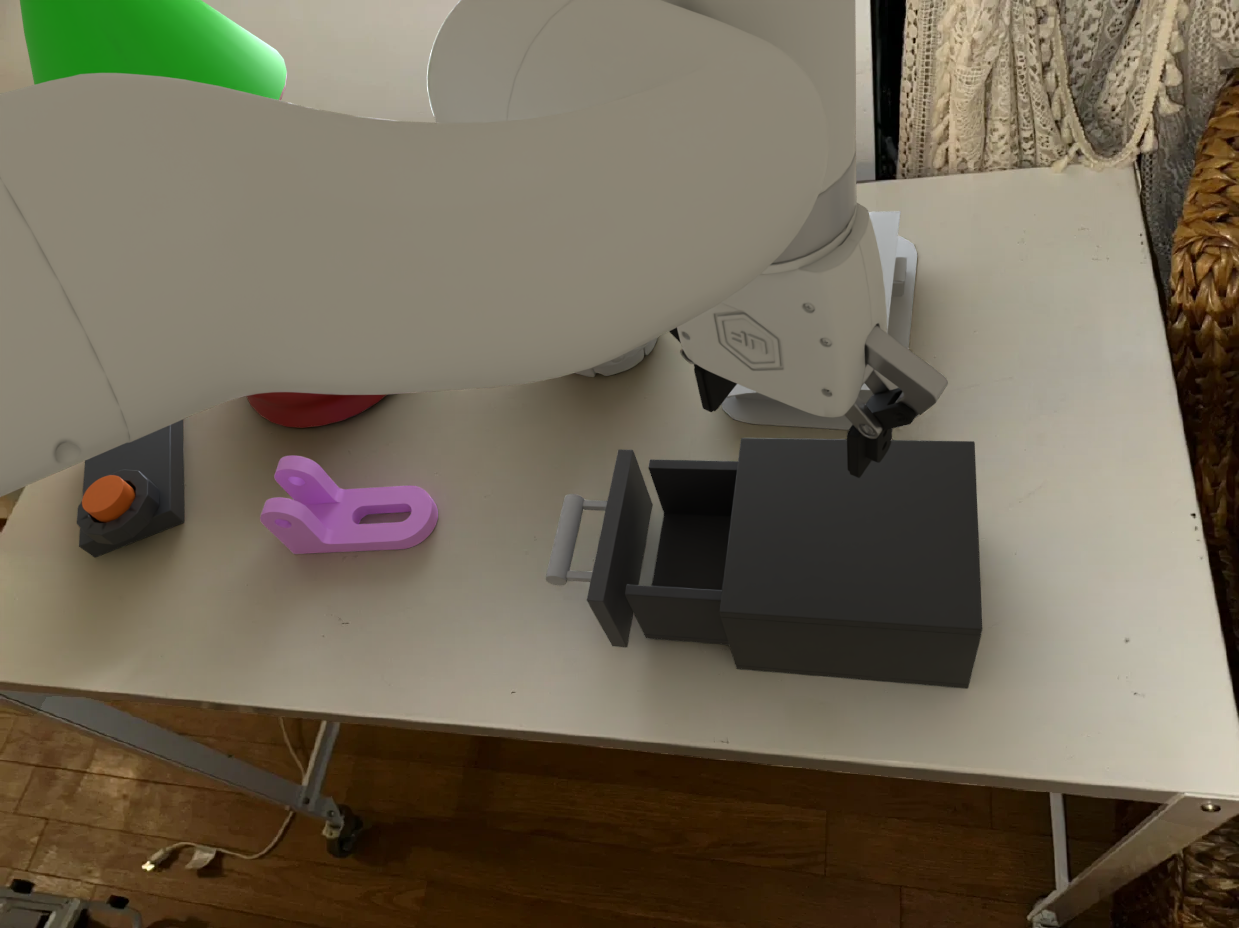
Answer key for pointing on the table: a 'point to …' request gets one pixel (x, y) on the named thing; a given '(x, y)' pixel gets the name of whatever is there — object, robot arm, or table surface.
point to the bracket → (343, 512)
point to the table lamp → (183, 49)
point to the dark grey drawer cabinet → (855, 562)
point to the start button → (108, 498)
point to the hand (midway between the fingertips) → (791, 424)
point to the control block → (137, 490)
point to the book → (899, 302)
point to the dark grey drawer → (684, 558)
